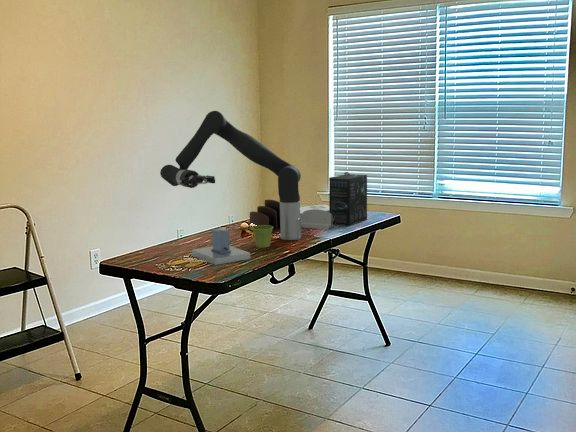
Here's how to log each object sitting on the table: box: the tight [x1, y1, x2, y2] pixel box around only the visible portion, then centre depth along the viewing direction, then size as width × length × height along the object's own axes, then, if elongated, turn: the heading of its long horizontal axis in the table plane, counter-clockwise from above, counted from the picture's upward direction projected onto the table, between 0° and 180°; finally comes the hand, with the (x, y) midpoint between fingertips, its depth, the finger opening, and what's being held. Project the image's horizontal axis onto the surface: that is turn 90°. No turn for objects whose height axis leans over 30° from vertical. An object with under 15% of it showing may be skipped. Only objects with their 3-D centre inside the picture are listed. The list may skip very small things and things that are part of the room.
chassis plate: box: [191, 245, 251, 266], centre depth 259 cm, size 20×16×2 cm
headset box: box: [328, 171, 368, 227], centre depth 329 cm, size 22×12×26 cm, turn 149°
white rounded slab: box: [300, 204, 329, 219], centre depth 346 cm, size 19×33×5 cm, turn 116°
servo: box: [211, 227, 231, 254], centre depth 257 cm, size 10×4×12 cm, turn 36°
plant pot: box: [251, 225, 273, 249], centre depth 276 cm, size 9×9×9 cm
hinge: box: [301, 209, 333, 230], centre depth 319 cm, size 17×5×10 cm, turn 63°
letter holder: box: [249, 199, 280, 233], centre depth 316 cm, size 10×20×14 cm, turn 30°
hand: (205, 181), depth 263 cm, fingers open, 8 cm apart
